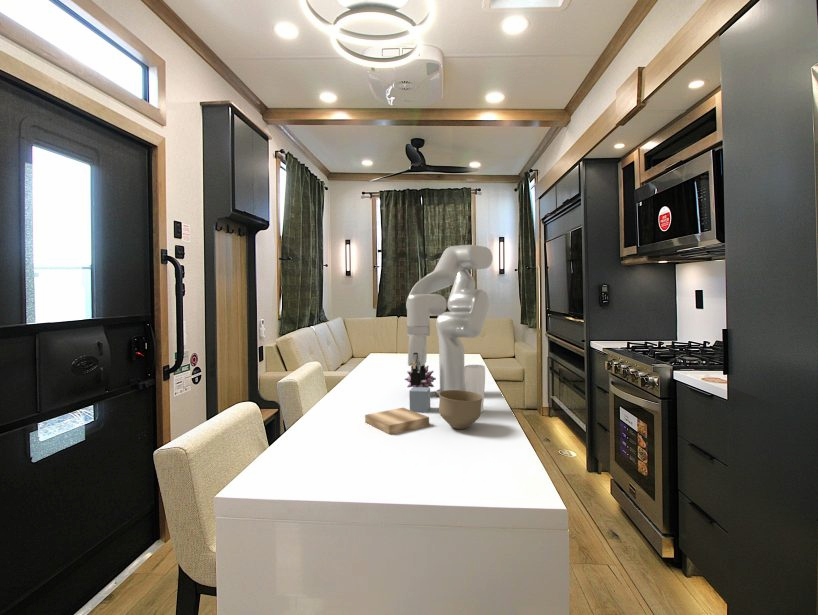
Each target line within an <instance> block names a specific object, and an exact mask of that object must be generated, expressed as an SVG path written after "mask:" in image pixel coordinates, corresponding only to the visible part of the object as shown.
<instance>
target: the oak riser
mask: <svg viewBox="0 0 818 615" xmlns="http://www.w3.org/2000/svg"><path fill="white" fill-rule="evenodd" d="M364 421H365V422H364V424H366V423H367V424H366V425H368V424H369V425H368V426H370V425H371V427H373V428H375V429H377V430H379V431H381V432H383V433H386V434H388V435H394V434H398V433H402V432H406V431H411V430H414V429H420V428H424V427H428V426H430V417H429V416H427V415H424V414H421V413H420V412H414V411H411V410H410V409H409V408H405V407H400V408H393V409H390V410H389V409H388V410H384V411H378V412H374V413H368V414H365V415H364Z"/></svg>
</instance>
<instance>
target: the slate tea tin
mask: <svg viewBox="0 0 818 615" xmlns="http://www.w3.org/2000/svg"><path fill="white" fill-rule="evenodd" d="M409 410H411V411H414V412H417V413H429V411H430V410H431V387H429V388H427V387H411V389H410V390H409Z"/></svg>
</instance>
